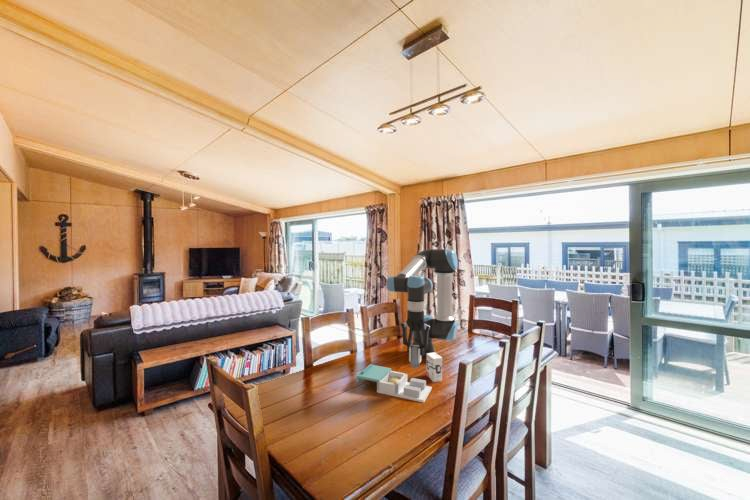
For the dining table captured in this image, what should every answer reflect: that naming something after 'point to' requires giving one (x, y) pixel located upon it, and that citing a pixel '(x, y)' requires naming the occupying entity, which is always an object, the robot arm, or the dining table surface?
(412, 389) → the housing
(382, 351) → the dining table surface
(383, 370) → the lid
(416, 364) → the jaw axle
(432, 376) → the ink box
